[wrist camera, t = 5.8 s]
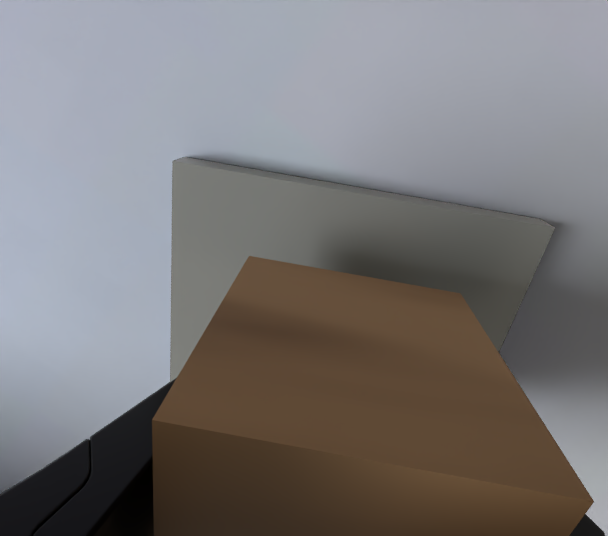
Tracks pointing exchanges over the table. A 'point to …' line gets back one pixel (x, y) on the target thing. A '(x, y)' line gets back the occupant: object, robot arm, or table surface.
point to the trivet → (338, 243)
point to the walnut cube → (352, 419)
